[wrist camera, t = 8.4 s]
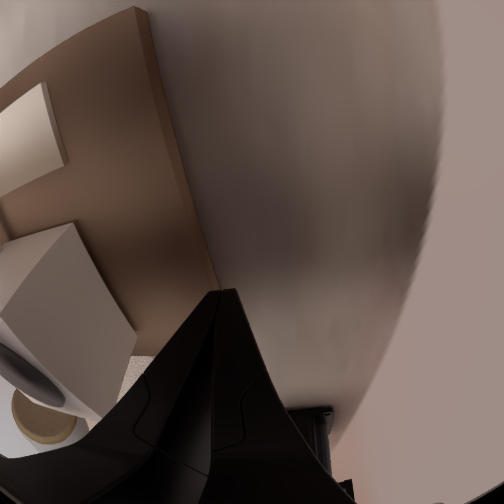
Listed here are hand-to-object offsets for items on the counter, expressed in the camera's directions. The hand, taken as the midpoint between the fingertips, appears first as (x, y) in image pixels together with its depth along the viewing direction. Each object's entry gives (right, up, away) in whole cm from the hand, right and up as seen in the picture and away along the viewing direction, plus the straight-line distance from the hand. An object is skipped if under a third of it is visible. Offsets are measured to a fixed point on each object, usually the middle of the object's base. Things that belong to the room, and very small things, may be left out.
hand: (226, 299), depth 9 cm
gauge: (-9, +1, +1) cm, 9 cm away
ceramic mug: (-20, -12, +13) cm, 27 cm away
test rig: (-13, +1, +2) cm, 13 cm away
